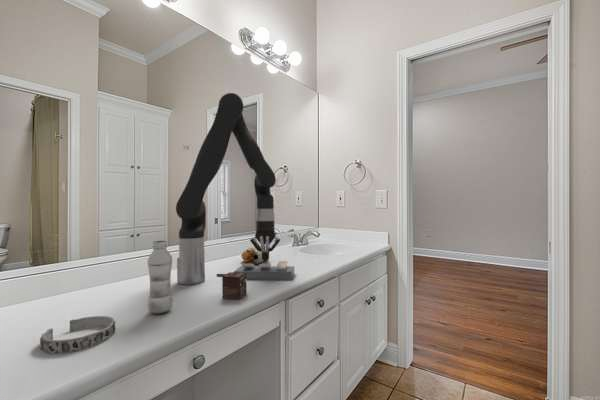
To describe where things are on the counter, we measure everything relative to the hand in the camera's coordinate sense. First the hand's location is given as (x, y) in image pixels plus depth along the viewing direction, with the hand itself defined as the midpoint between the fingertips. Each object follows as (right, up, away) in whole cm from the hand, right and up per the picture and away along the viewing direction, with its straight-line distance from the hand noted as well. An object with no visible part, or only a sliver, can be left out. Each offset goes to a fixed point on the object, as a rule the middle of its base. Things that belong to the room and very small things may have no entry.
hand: (265, 261), depth 120 cm
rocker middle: (0, -2, -3) cm, 3 cm away
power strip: (-4, -6, -2) cm, 8 cm away
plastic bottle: (-25, -7, -38) cm, 46 cm away
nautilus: (-10, -6, +22) cm, 25 cm away
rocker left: (-7, -2, -2) cm, 8 cm away
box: (-7, -6, -26) cm, 27 cm away
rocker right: (+7, -2, -3) cm, 8 cm away
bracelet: (-37, -7, -53) cm, 65 cm away
